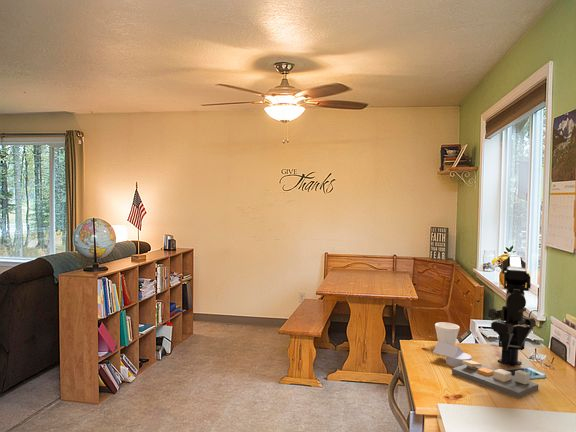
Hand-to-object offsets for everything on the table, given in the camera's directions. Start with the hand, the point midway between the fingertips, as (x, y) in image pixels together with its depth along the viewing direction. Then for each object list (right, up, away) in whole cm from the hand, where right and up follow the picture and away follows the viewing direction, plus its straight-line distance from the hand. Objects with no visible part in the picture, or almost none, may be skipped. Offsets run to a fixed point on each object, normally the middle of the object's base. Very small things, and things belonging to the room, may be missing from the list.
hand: (512, 348), depth 162 cm
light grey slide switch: (-1, -9, -8) cm, 12 cm away
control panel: (-8, -11, -3) cm, 14 cm away
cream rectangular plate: (-13, -7, +4) cm, 15 cm away
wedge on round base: (-16, -10, +15) cm, 24 cm away
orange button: (-10, -10, -1) cm, 14 cm away
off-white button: (-6, -9, -5) cm, 12 cm away
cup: (-12, -9, +34) cm, 37 cm away
